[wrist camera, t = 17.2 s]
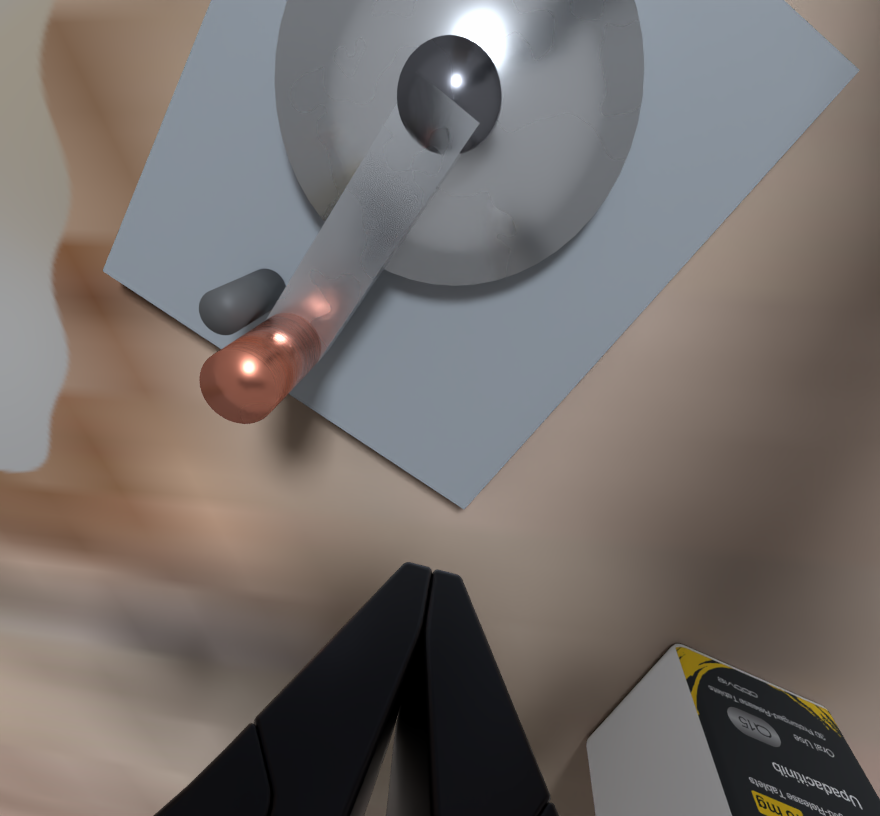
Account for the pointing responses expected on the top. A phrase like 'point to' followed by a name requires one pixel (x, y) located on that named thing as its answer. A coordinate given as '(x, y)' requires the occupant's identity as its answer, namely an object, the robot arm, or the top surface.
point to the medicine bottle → (722, 748)
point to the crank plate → (465, 306)
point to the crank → (433, 156)
